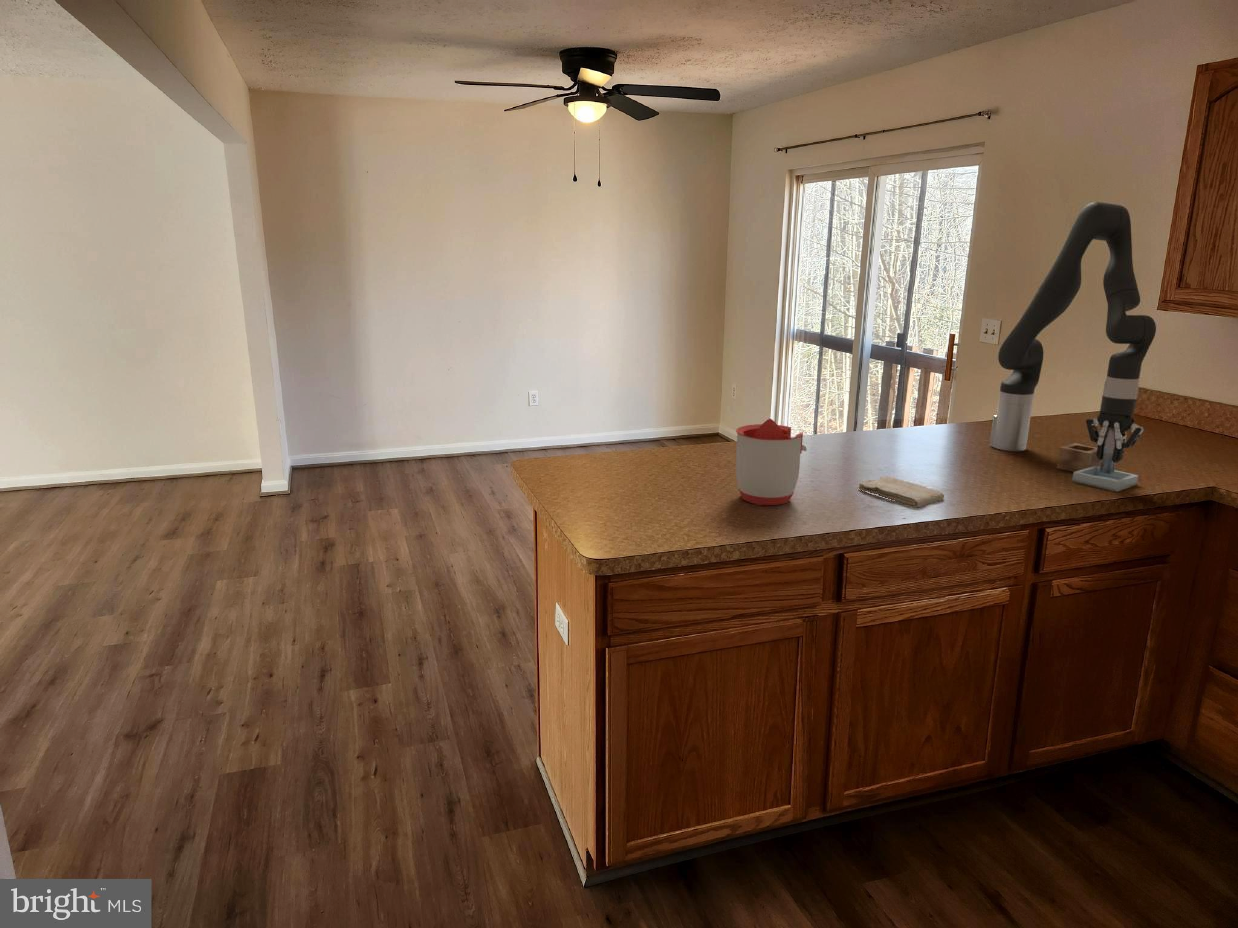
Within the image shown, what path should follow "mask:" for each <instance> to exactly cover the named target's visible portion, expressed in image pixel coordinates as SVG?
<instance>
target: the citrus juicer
mask: <svg viewBox="0 0 1238 928" xmlns="http://www.w3.org/2000/svg"><path fill="white" fill-rule="evenodd" d="M735 432H736V453H735V456H736V457H735V475H736V481H737V486H738V491H739V493H740V496H741V498H742V500H744V501H746V502H748V503H752V504H755V505H756V506H779V505H783V504H787V503H789V502H790V500H791V499H792V497H793V495H794V492H795V489H796V486H797V484H798V483H797V482H798V479H799V475H800V465H801V454H802V453H803V451H804V452H807V447H806V445H804V444H803V437H804V433H803V432H800V433H797V434H795V436H794V437H792V427H791V426H788V425H781V424H778V423H776V422H775V420H774V419H772V418H768V419H767V420H765V421H764V422H763V423H761V424H747V425H743V426H739V427H738V428H737V429H736V431H735Z"/></svg>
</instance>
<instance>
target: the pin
mask: <svg viewBox="0 0 1238 928" xmlns="http://www.w3.org/2000/svg"><path fill="white" fill-rule="evenodd" d="M1116 448H1117V447H1116V439H1115V429H1114V428H1111V427H1108V430H1107V432H1106V437H1105V442H1104V448H1103V454H1102V460H1101V466H1100V472H1101V473H1106V474H1113V473H1114V470H1115V468H1116V463H1114V462H1113V459H1114V453H1115V449H1116Z"/></svg>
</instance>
